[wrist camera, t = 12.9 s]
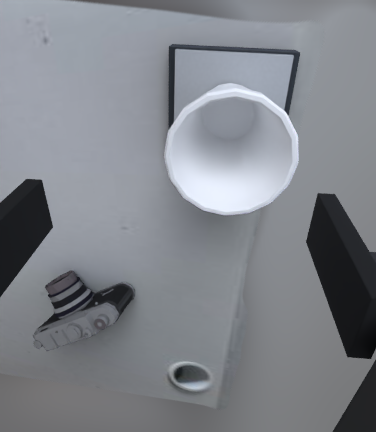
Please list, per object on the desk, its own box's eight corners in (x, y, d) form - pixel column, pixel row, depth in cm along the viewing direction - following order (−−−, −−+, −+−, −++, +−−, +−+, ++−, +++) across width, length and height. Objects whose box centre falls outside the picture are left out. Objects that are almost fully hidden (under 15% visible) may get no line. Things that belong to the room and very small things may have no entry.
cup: (201, 168, 40) (192, 230, 29) (167, 84, 35) (141, 119, 24) (286, 140, 37) (313, 196, 26) (261, 45, 33) (280, 64, 22)
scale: (172, 44, 36) (167, 47, 33) (295, 50, 36) (303, 54, 32) (170, 158, 43) (166, 170, 40) (274, 165, 42) (279, 178, 39)
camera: (114, 249, 54) (81, 279, 44) (139, 295, 55) (113, 333, 46) (41, 281, 59) (-2, 313, 49) (66, 322, 60) (29, 361, 51)
